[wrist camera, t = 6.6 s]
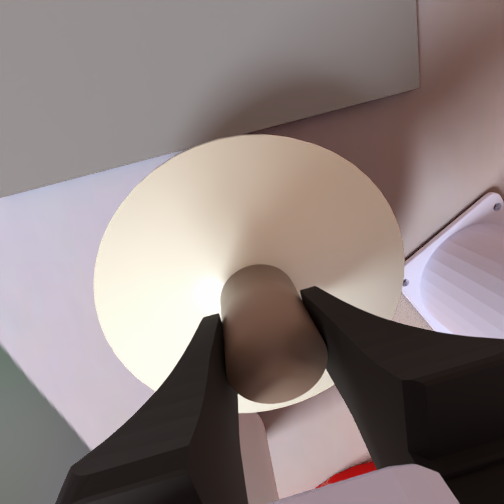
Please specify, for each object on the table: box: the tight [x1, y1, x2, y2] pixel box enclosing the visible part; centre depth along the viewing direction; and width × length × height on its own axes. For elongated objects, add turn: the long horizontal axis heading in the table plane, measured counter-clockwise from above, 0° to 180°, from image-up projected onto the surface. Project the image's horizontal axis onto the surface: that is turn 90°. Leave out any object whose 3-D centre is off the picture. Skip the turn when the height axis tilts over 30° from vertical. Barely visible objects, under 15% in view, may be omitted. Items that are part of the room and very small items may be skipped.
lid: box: [93, 134, 405, 413], centre depth 12 cm, size 13×13×5 cm
